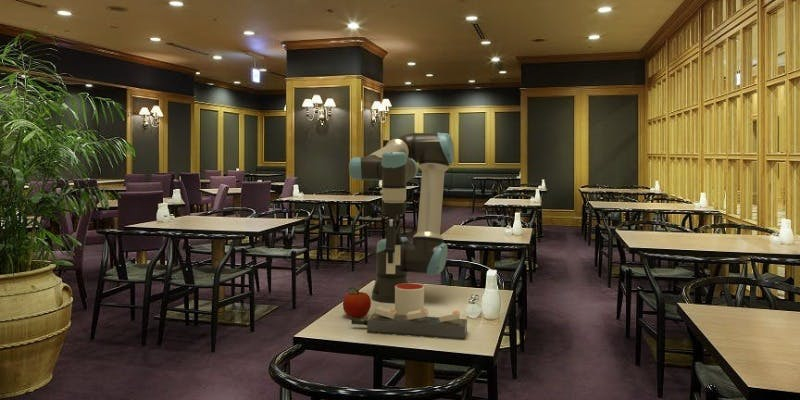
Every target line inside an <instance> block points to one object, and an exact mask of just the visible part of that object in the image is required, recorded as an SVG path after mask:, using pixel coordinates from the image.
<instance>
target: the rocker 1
mask: <svg viewBox="0 0 800 400" xmlns="http://www.w3.org/2000/svg"><path fill="white" fill-rule="evenodd" d="M374 313H376V314H379V315H382V316H385V317H388V318H392V319H394V317H395V316H396V313H397V311H395V309H391V308H388V307H385V306H382V305H378V306H377V307H376V308H375V312H374Z"/></svg>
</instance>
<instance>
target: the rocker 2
mask: <svg viewBox="0 0 800 400" xmlns="http://www.w3.org/2000/svg"><path fill="white" fill-rule="evenodd" d="M428 315H429V311H428V308H424V309H421V310H416V311H411V312H408V314H407V319H408V320H410V319H416V318H421V317H428Z"/></svg>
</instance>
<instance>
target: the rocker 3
mask: <svg viewBox="0 0 800 400" xmlns="http://www.w3.org/2000/svg"><path fill="white" fill-rule="evenodd" d="M438 317H439V320H440V322H444V321H449V320H455V319H461V312H460V310H453V311H450V312H443V313H439V316H438Z"/></svg>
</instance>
